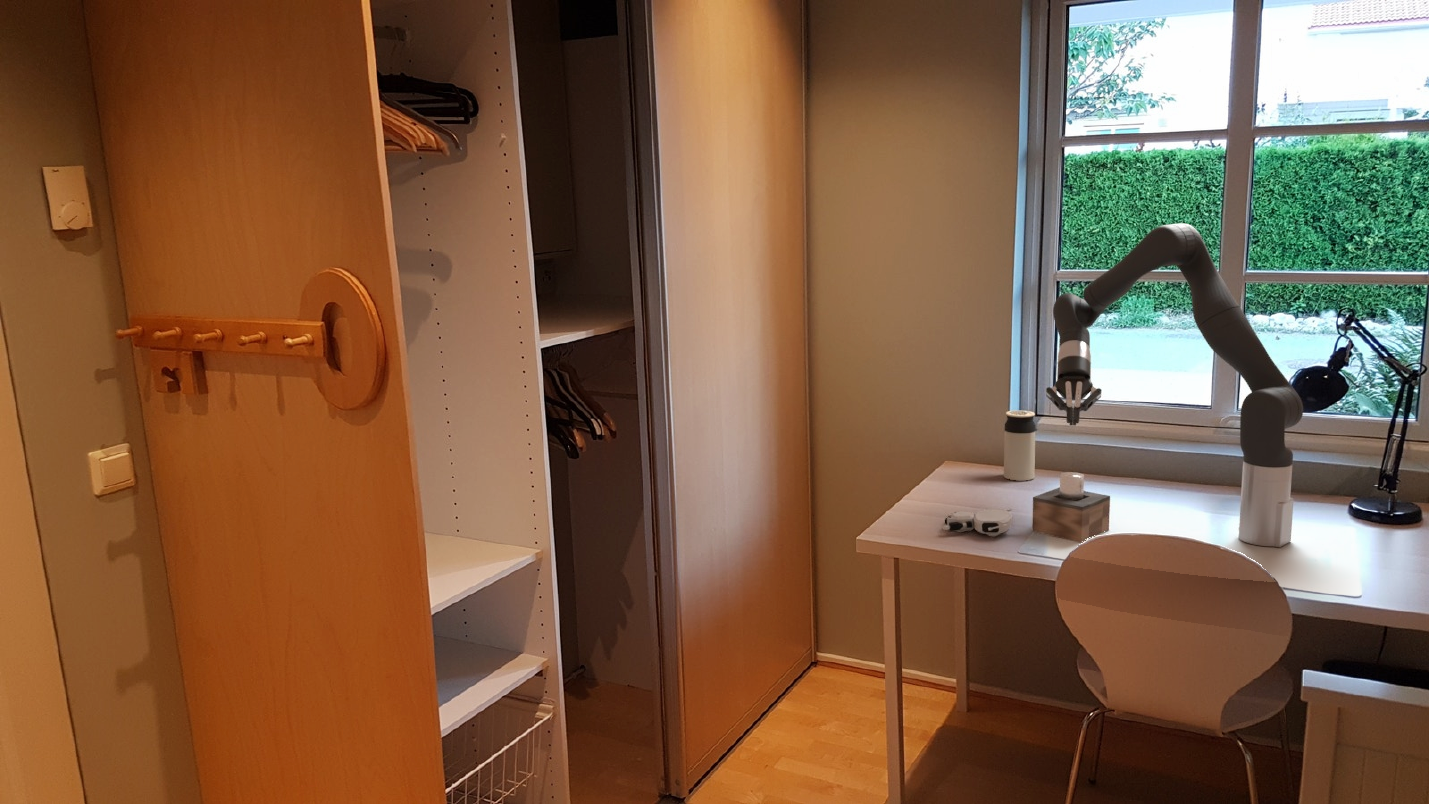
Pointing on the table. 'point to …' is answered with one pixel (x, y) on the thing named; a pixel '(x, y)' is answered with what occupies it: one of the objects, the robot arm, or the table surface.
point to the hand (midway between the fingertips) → (1073, 423)
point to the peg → (1071, 486)
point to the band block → (1071, 515)
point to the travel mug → (1019, 445)
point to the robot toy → (980, 521)
